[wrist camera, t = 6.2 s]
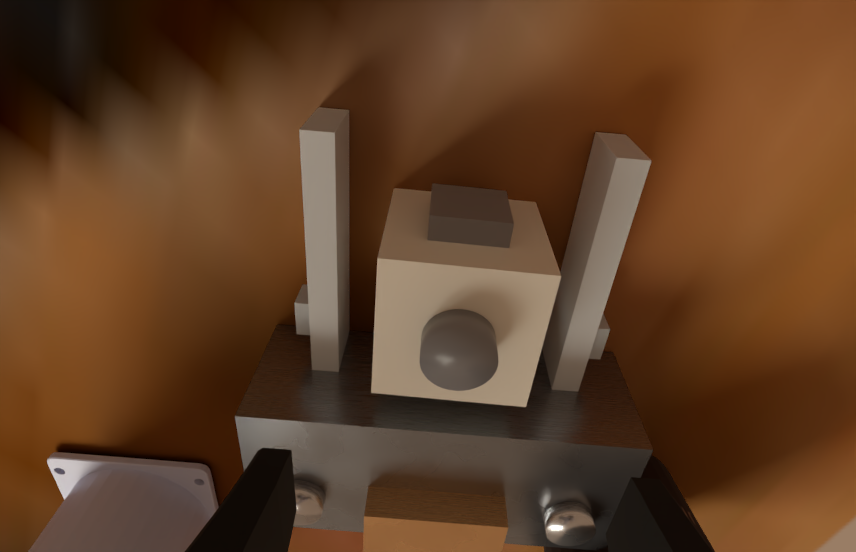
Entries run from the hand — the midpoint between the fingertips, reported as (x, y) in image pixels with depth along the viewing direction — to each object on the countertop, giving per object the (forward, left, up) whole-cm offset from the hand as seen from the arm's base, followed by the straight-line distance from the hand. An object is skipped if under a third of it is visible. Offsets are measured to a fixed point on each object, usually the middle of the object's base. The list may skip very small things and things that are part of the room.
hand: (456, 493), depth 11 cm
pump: (0, 0, -10) cm, 10 cm away
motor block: (-7, 0, -10) cm, 12 cm away
